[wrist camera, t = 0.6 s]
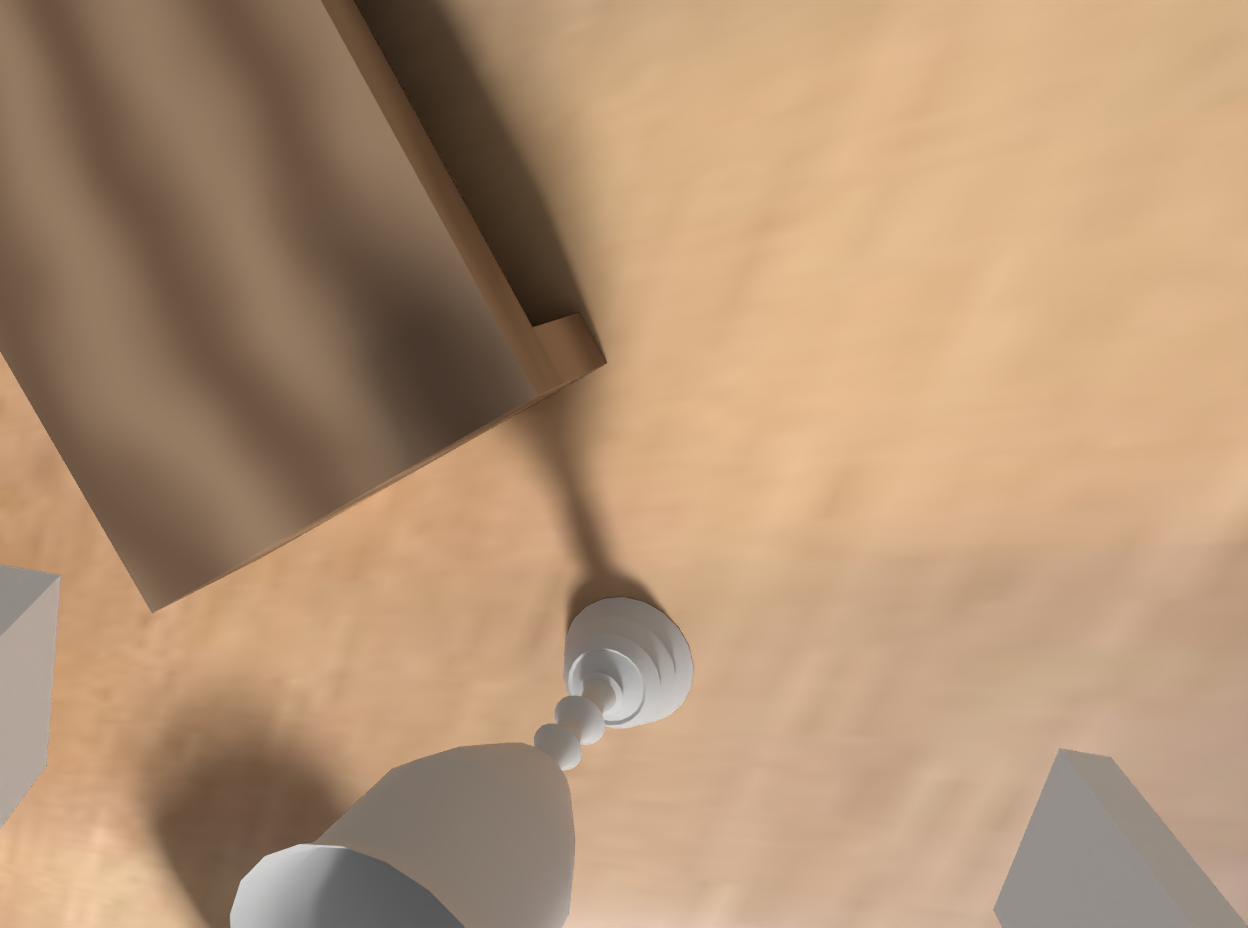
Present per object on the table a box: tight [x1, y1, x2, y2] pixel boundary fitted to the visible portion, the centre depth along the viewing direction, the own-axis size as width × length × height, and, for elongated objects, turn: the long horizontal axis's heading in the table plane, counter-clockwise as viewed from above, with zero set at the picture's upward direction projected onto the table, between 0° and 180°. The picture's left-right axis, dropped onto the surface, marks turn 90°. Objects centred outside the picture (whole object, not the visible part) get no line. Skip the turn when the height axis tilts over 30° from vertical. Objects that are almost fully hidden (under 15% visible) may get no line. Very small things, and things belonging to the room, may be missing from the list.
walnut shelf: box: [0, 0, 607, 613], centre depth 39 cm, size 18×22×6 cm
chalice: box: [230, 597, 693, 928], centre depth 33 cm, size 7×7×18 cm
